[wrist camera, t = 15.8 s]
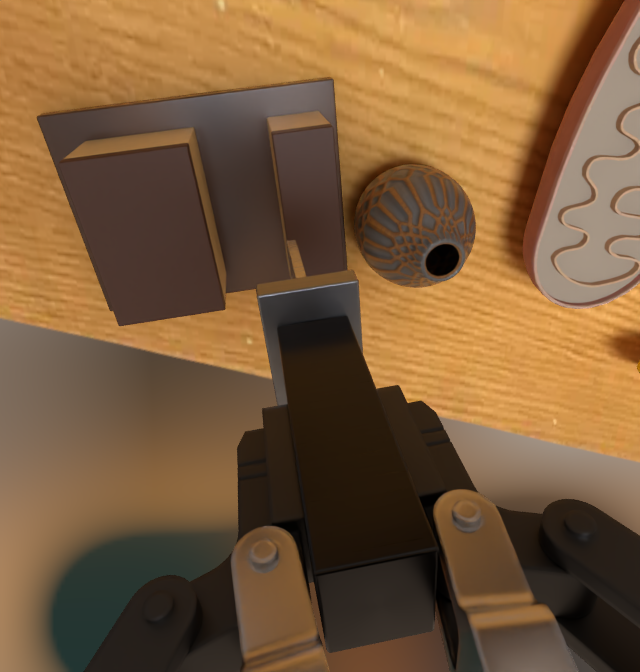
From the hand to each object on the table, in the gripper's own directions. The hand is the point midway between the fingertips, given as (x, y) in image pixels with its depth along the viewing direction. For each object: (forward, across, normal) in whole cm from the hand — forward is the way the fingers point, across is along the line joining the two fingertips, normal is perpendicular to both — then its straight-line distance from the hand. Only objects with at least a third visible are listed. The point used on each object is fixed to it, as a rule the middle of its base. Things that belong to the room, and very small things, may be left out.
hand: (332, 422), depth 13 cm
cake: (+20, +7, 0) cm, 22 cm away
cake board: (+21, +4, 0) cm, 22 cm away
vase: (+22, -8, +2) cm, 23 cm away
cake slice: (+20, -2, 0) cm, 20 cm away
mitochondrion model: (+21, -22, -2) cm, 31 cm away
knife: (+9, 0, 0) cm, 9 cm away
